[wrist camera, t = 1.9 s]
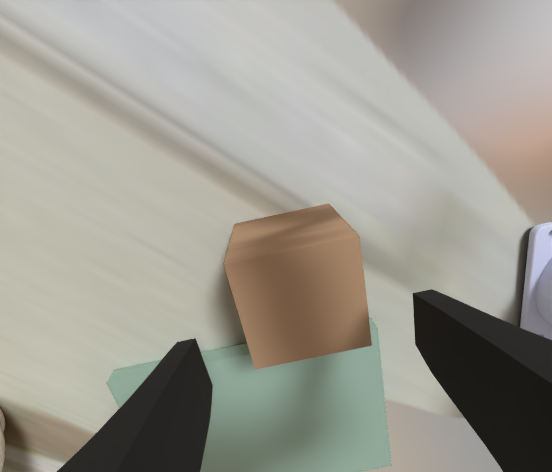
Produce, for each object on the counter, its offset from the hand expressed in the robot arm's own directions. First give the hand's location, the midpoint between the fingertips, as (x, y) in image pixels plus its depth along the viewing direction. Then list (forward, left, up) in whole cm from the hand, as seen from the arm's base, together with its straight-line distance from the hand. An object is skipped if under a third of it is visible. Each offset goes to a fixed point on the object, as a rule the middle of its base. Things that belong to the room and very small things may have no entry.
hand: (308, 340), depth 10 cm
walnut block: (0, 0, -7) cm, 7 cm away
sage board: (+4, +11, -7) cm, 14 cm away
